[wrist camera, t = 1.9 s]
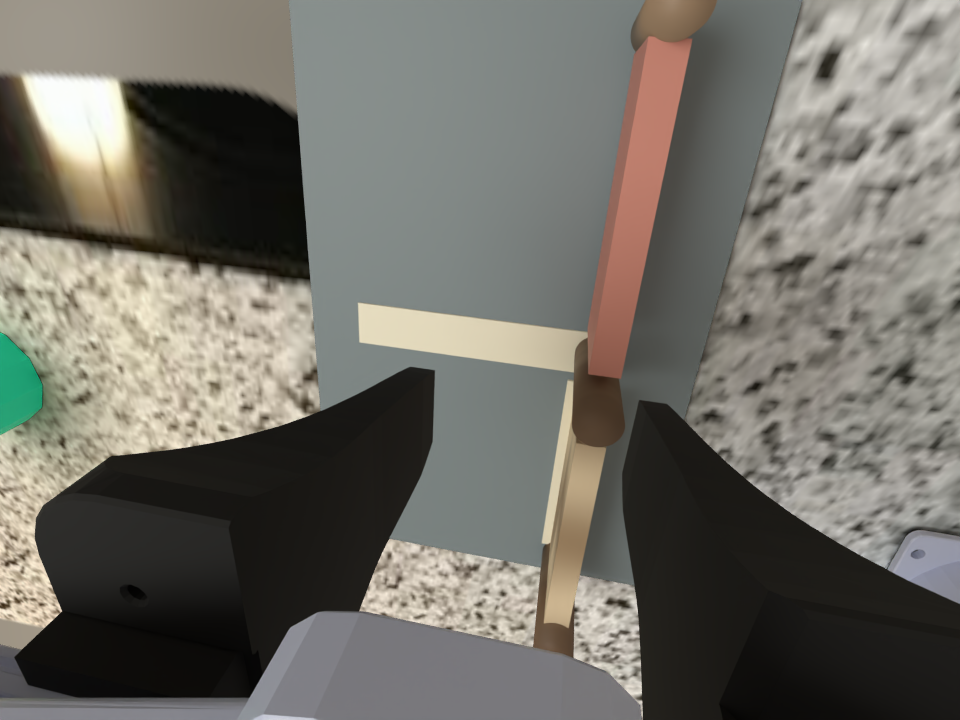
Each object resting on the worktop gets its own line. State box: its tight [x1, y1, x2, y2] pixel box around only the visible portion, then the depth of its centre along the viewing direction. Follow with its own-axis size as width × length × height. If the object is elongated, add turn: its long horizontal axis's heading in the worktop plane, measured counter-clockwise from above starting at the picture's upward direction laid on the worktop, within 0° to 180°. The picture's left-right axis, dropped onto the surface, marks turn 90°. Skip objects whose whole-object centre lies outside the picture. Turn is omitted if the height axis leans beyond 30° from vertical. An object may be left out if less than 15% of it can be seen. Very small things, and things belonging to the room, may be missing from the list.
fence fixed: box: [533, 338, 625, 658], centre depth 21 cm, size 12×2×6 cm, turn 176°
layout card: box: [289, 0, 802, 585], centre depth 21 cm, size 24×16×1 cm, turn 176°
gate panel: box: [588, 0, 717, 379], centre depth 15 cm, size 10×1×5 cm, turn 176°
